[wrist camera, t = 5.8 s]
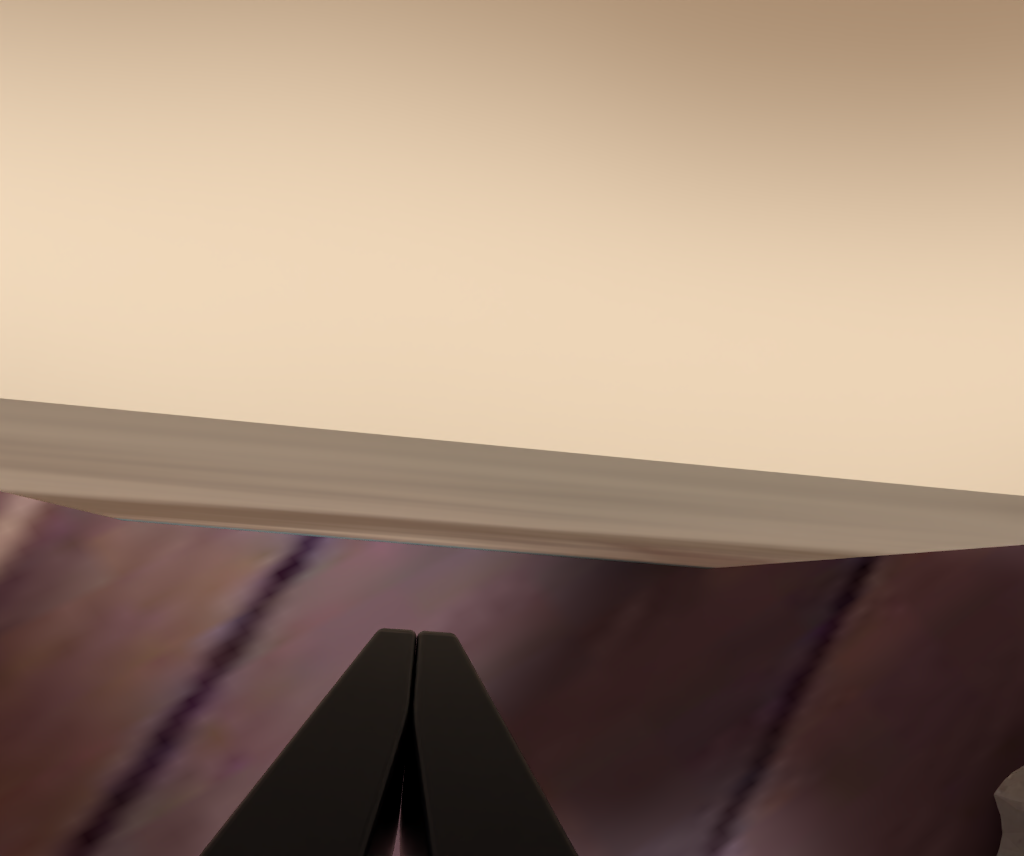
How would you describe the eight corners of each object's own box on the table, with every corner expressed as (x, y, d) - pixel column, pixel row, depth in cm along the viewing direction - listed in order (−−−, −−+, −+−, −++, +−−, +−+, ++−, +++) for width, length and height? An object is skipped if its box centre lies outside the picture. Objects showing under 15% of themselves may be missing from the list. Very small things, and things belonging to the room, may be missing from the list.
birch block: (706, 568, 17) (1309, 523, 6) (123, 520, 16) (-644, 336, 4) (712, 344, 18) (1232, -87, 7) (164, 284, 17) (-373, -370, 5)
